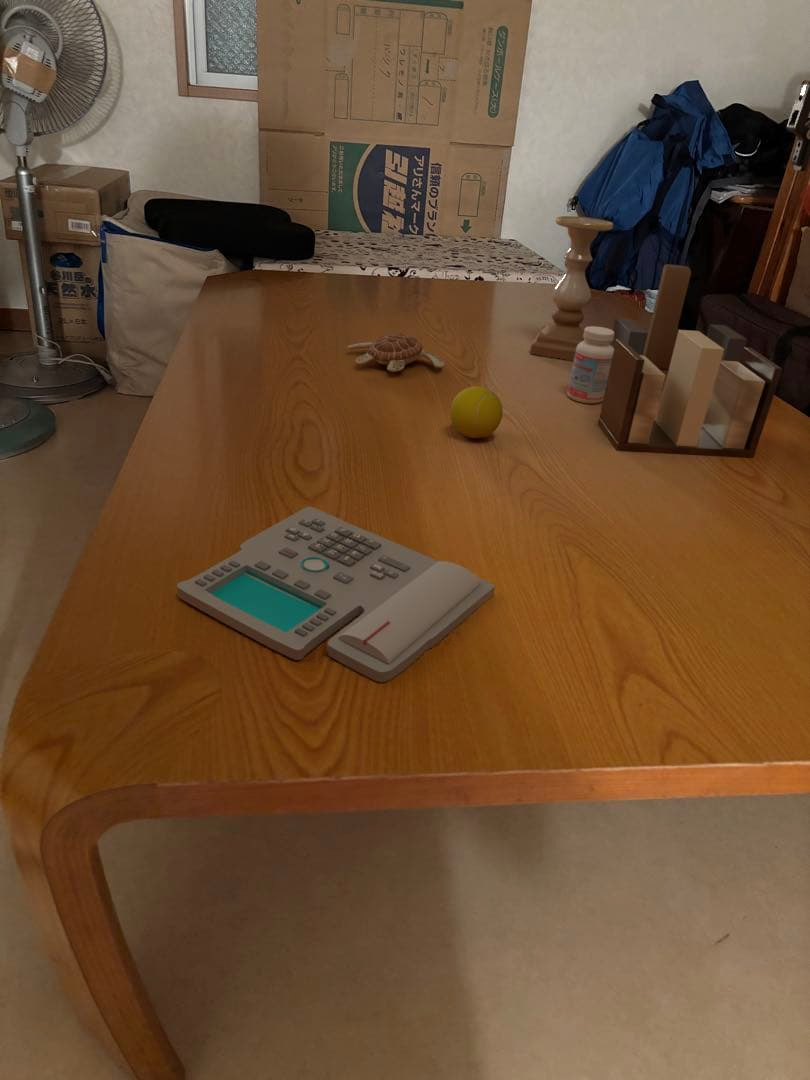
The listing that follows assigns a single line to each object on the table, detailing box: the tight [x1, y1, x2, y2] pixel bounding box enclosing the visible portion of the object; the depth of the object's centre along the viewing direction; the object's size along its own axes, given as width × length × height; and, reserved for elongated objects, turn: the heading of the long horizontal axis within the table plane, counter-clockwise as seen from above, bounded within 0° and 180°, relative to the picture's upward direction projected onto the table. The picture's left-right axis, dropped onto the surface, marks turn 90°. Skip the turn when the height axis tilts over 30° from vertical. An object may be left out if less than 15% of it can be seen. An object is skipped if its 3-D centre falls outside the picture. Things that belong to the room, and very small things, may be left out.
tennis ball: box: [450, 385, 504, 439], centre depth 107 cm, size 7×7×7 cm
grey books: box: [610, 317, 748, 363], centre depth 135 cm, size 20×9×10 cm, turn 93°
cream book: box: [655, 329, 724, 447], centre depth 109 cm, size 3×9×14 cm, turn 3°
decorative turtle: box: [346, 332, 445, 373], centre depth 135 cm, size 18×17×5 cm
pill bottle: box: [567, 325, 614, 405], centre depth 124 cm, size 6×6×11 cm
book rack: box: [597, 339, 783, 459], centre depth 110 cm, size 20×10×13 cm, turn 93°
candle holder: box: [529, 215, 614, 362], centre depth 145 cm, size 11×11×24 cm
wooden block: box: [643, 263, 692, 371], centre depth 142 cm, size 9×4×18 cm, turn 77°
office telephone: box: [176, 505, 496, 683], centre depth 71 cm, size 23×3×20 cm
